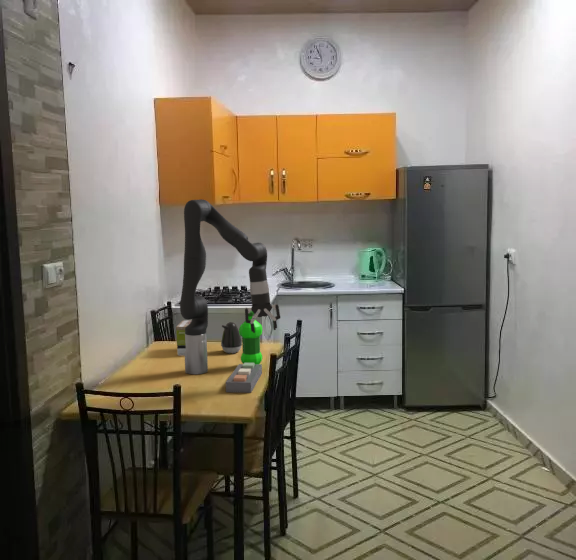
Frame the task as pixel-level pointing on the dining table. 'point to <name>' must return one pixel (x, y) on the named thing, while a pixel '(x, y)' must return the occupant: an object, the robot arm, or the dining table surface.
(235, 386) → the button panel
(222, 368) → the dining table surface
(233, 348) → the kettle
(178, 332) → the tea box
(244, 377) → the terracotta button
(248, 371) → the cream button
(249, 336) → the plastic bottle
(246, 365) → the green button
